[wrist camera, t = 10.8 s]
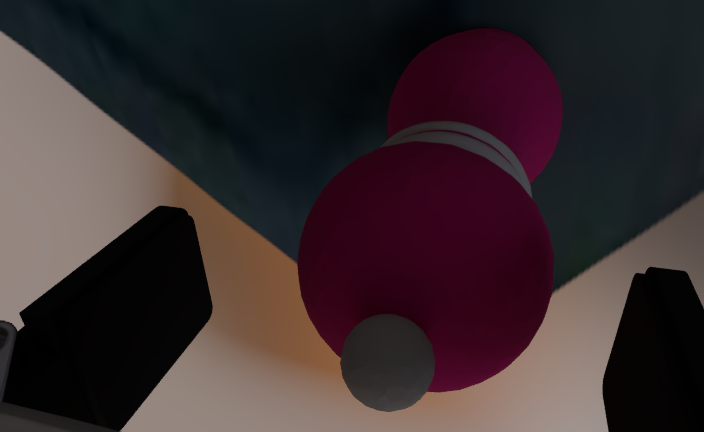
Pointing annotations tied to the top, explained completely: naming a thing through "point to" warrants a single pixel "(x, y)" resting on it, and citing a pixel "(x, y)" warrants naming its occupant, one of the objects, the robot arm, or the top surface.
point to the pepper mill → (439, 226)
